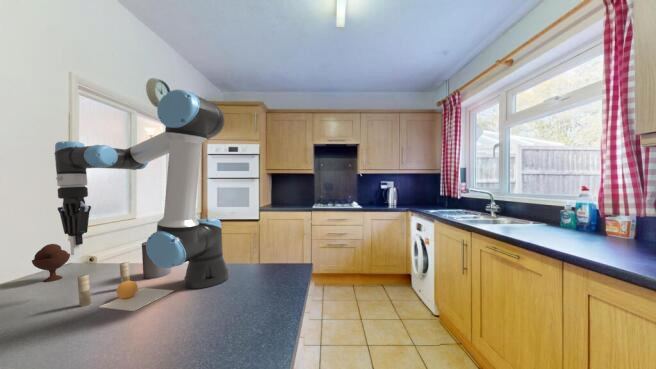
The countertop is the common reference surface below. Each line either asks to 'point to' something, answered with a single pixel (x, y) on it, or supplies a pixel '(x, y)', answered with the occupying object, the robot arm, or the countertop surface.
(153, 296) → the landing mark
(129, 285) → the ball
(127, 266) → the right post
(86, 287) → the left post
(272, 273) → the countertop surface
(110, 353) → the countertop surface
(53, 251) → the ice cream bowl
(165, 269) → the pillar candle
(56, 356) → the countertop surface
